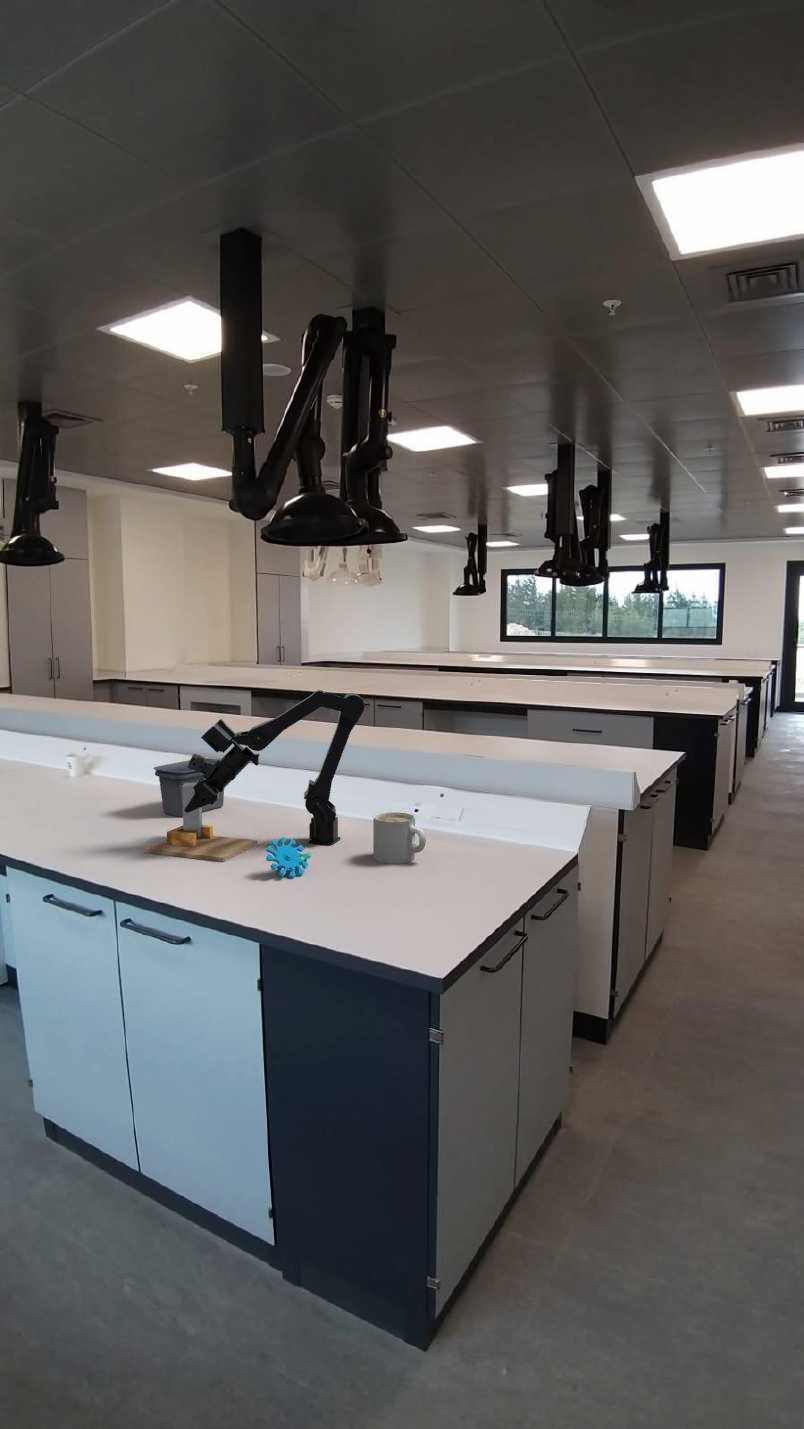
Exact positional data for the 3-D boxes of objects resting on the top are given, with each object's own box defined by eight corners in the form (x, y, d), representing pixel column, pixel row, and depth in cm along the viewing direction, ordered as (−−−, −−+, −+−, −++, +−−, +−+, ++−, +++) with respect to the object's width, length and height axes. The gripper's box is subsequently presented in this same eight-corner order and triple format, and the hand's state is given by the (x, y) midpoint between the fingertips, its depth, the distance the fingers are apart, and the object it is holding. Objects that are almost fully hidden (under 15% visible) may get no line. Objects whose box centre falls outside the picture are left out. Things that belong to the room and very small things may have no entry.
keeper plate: (257, 844, 192) (257, 828, 191) (223, 861, 177) (223, 845, 176) (183, 836, 199) (182, 821, 198) (144, 852, 184) (144, 836, 183)
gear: (273, 875, 162) (263, 835, 168) (263, 889, 165) (254, 849, 171) (318, 873, 168) (308, 835, 174) (308, 887, 172) (298, 849, 177)
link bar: (202, 832, 193) (201, 782, 191) (200, 836, 189) (198, 785, 188) (186, 833, 192) (184, 783, 191) (183, 837, 188) (182, 786, 187)
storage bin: (180, 821, 215) (179, 771, 213) (145, 813, 223) (143, 766, 222) (235, 807, 233) (234, 761, 231) (200, 800, 241) (199, 756, 240)
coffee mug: (364, 857, 181) (364, 816, 180) (393, 849, 188) (393, 810, 187) (405, 869, 172) (405, 826, 171) (434, 860, 179) (434, 819, 178)
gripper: (211, 738, 198) (169, 780, 198) (201, 749, 179) (155, 795, 179) (243, 767, 200) (201, 809, 199) (235, 781, 181) (190, 827, 181)
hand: (187, 809), depth 190 cm, fingers closed on link bar, 4 cm apart
